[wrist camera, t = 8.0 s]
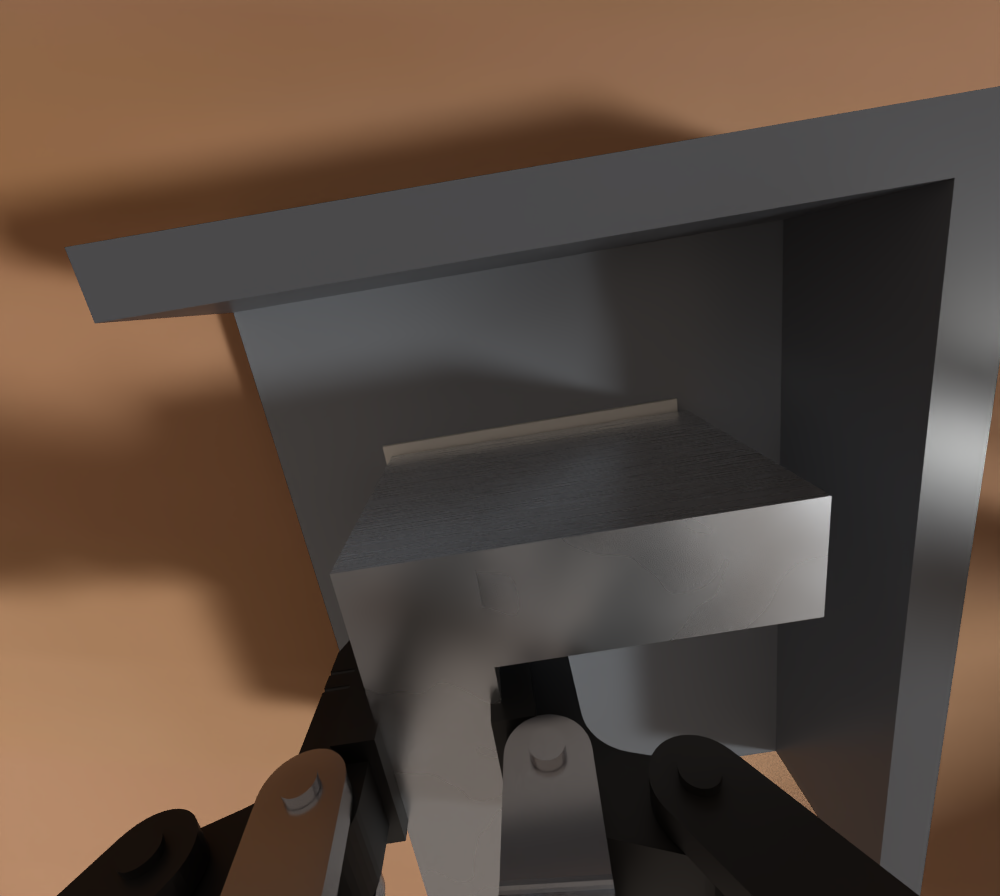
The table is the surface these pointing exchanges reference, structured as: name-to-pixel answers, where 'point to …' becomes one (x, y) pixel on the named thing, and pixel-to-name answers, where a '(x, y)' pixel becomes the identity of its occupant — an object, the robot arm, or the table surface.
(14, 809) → the table surface
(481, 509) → the l bracket
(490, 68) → the table surface
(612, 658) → the grey l-shaped slot base
